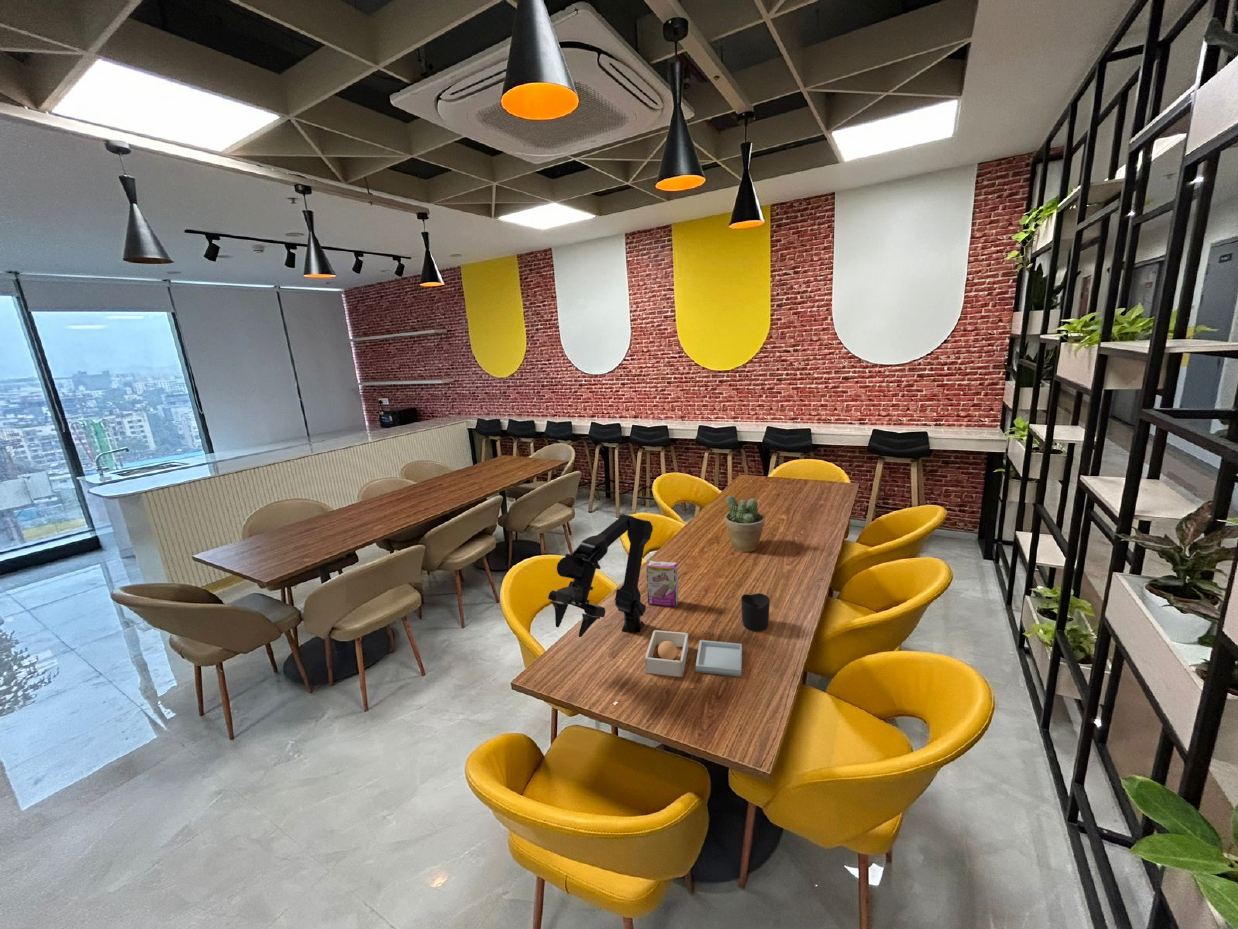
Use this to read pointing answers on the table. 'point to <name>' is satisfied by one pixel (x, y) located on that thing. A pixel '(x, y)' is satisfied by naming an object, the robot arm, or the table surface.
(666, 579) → the candy bar box
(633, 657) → the table surface
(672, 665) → the grey rectangular frame
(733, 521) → the potted plant
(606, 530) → the robot arm
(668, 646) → the ball
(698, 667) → the tray
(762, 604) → the pen holder
